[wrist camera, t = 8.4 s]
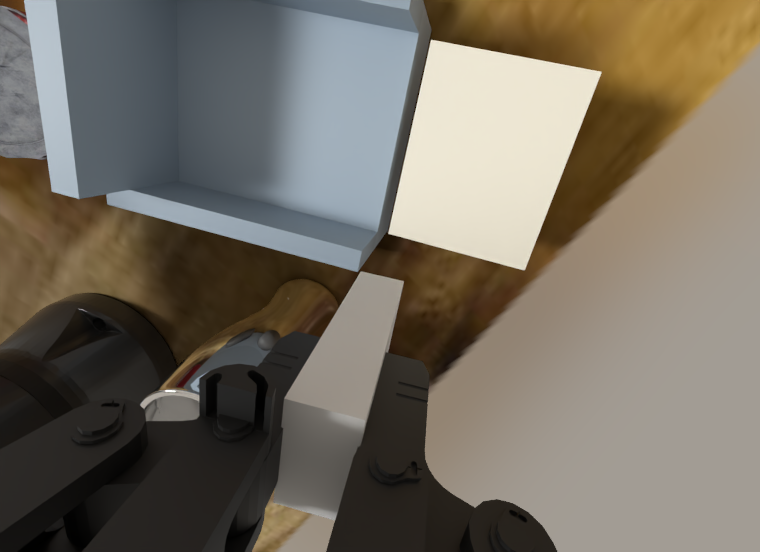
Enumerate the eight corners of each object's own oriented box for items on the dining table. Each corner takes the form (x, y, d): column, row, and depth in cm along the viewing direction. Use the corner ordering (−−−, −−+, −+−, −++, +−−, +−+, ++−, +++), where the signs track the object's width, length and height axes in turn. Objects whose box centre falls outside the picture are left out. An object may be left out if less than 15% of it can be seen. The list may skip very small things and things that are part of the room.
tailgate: (388, 233, 22) (524, 270, 21) (431, 39, 18) (601, 71, 17) (393, 227, 23) (521, 262, 22) (434, 46, 20) (592, 76, 18)
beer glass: (362, 316, 31) (286, 462, 17) (310, 360, 34) (208, 516, 20) (302, 256, 30) (171, 360, 17) (253, 306, 33) (107, 431, 19)
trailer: (204, 203, 30) (59, 245, 19) (208, -44, 24) (-4, -192, 13) (493, 278, 28) (515, 375, 17) (583, 26, 21) (712, -83, 10)
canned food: (105, 29, 32) (24, -57, 22) (152, 149, 33) (97, 118, 24) (-49, 57, 29) (-212, -25, 20) (11, 183, 31) (-111, 164, 22)
